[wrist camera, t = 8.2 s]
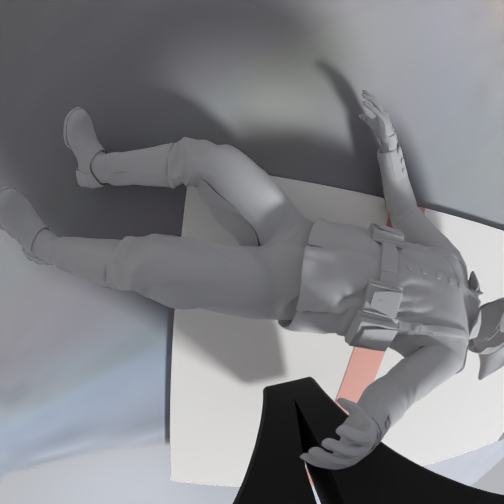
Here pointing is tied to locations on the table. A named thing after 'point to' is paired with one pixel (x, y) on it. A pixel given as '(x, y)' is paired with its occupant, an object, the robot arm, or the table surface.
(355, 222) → the mat
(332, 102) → the table surface
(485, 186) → the table surface
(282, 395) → the robot arm
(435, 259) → the soldier figure
